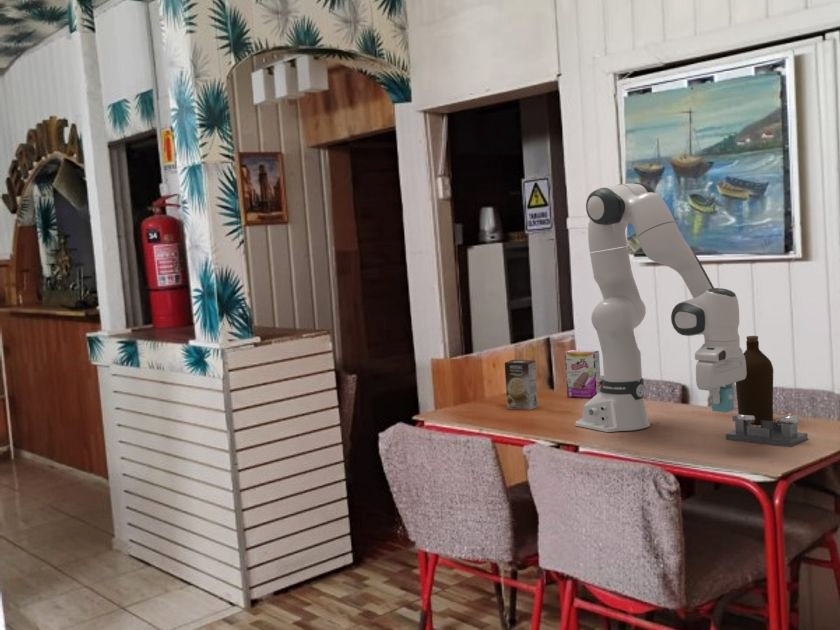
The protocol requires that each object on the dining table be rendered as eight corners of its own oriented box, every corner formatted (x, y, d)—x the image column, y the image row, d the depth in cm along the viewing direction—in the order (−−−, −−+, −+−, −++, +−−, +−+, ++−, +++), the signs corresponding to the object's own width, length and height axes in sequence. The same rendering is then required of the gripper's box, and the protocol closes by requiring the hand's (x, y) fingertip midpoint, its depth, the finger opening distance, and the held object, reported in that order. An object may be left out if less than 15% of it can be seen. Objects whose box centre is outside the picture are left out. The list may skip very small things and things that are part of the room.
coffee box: (506, 409, 320) (503, 362, 318) (514, 405, 325) (511, 359, 324) (530, 410, 315) (527, 362, 314) (538, 406, 320) (535, 359, 319)
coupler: (710, 410, 250) (710, 388, 250) (718, 407, 253) (717, 385, 252) (727, 412, 247) (727, 390, 246) (735, 410, 249) (735, 387, 249)
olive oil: (759, 427, 266) (756, 339, 264) (729, 422, 275) (725, 337, 273) (783, 420, 272) (779, 335, 270) (752, 416, 281) (748, 333, 279)
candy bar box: (566, 398, 331) (564, 351, 330) (572, 395, 336) (569, 349, 334) (597, 398, 326) (594, 352, 324) (602, 396, 330) (599, 349, 328)
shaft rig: (725, 439, 256) (724, 412, 255) (744, 431, 262) (742, 405, 262) (790, 446, 243) (789, 418, 242) (807, 438, 249) (806, 411, 249)
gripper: (730, 344, 257) (731, 393, 259) (691, 354, 244) (691, 406, 245) (752, 345, 253) (752, 396, 254) (713, 356, 239) (714, 409, 241)
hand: (722, 401), depth 250 cm, fingers closed on coupler, 4 cm apart
